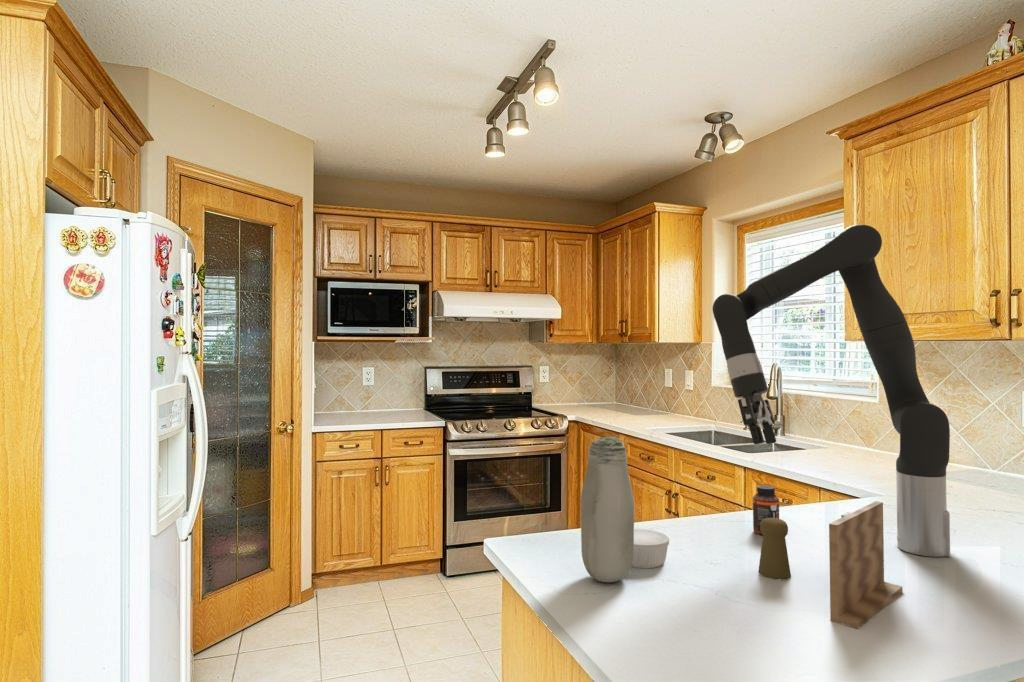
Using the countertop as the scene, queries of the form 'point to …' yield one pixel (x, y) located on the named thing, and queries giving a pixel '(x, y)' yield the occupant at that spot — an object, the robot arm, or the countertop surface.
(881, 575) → the shelf wall
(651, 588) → the countertop surface
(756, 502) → the supplement bottle
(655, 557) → the ramekin
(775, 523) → the olive pawn figure
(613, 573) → the grey bottle
